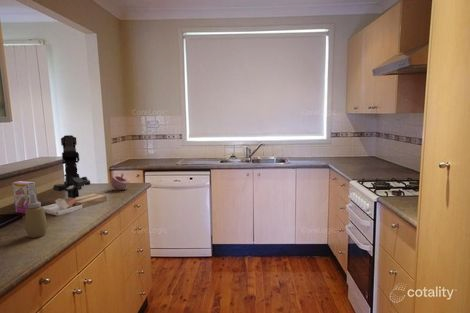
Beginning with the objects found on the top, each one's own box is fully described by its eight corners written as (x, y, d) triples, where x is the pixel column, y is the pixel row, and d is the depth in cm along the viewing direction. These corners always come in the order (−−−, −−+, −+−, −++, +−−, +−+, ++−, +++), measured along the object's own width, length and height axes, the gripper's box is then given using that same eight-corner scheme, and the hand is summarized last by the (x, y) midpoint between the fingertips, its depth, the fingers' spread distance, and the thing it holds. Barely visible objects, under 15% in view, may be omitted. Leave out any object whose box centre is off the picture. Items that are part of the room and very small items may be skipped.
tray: (39, 211, 166) (39, 207, 165) (64, 204, 178) (64, 201, 178) (57, 215, 158) (57, 212, 158) (82, 208, 170) (82, 205, 170)
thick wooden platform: (66, 204, 178) (66, 199, 177) (91, 198, 192) (91, 193, 191) (82, 208, 171) (81, 202, 171) (106, 200, 185) (106, 196, 184)
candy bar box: (14, 212, 163) (11, 182, 161) (23, 210, 168) (20, 180, 166) (29, 215, 160) (26, 184, 157) (38, 212, 164) (36, 181, 162)
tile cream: (63, 205, 171) (59, 208, 169) (58, 198, 168) (54, 201, 167) (68, 206, 168) (65, 209, 167) (64, 199, 166) (60, 202, 164)
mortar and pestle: (126, 192, 206) (125, 175, 204) (108, 192, 206) (107, 175, 204) (132, 187, 218) (131, 171, 216) (115, 187, 218) (114, 171, 216)
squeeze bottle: (32, 232, 136) (28, 192, 134) (51, 231, 137) (48, 191, 134) (21, 239, 128) (17, 197, 126) (42, 238, 129) (38, 196, 126)
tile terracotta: (63, 206, 172) (61, 202, 170) (71, 200, 175) (68, 197, 174) (69, 207, 169) (66, 204, 168) (76, 201, 173) (74, 198, 171)
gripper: (64, 176, 160) (66, 206, 162) (95, 170, 176) (97, 197, 178) (51, 174, 165) (54, 203, 167) (83, 169, 181) (85, 195, 183)
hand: (73, 199), depth 174 cm, fingers closed
